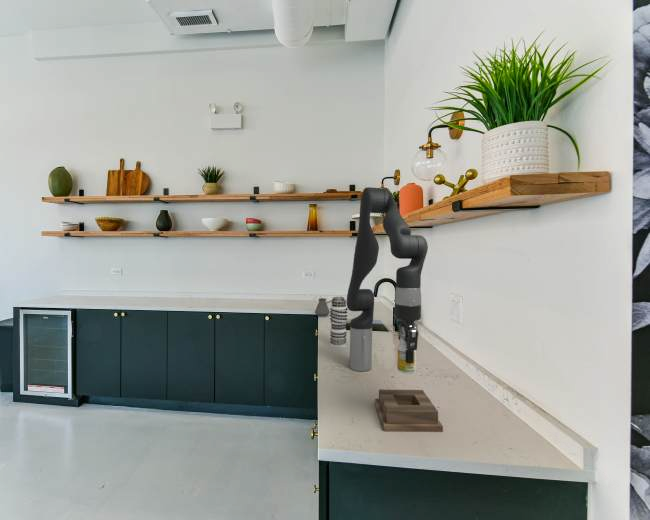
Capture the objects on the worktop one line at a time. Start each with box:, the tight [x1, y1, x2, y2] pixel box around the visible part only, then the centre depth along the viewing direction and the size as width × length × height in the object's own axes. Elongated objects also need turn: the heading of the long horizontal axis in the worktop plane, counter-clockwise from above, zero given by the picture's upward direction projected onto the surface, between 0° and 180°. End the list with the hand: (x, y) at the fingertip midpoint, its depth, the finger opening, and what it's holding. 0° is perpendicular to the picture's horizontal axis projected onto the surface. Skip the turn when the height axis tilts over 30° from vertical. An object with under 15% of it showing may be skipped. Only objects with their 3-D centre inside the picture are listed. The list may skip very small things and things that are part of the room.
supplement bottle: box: [396, 337, 417, 375], centre depth 95 cm, size 5×5×10 cm
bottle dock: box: [374, 388, 444, 433], centre depth 95 cm, size 16×16×5 cm
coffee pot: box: [314, 297, 332, 317], centre depth 245 cm, size 21×12×15 cm, turn 84°
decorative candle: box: [329, 296, 349, 348], centre depth 168 cm, size 9×9×25 cm
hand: (406, 359), depth 95 cm, fingers closed on supplement bottle, 5 cm apart
